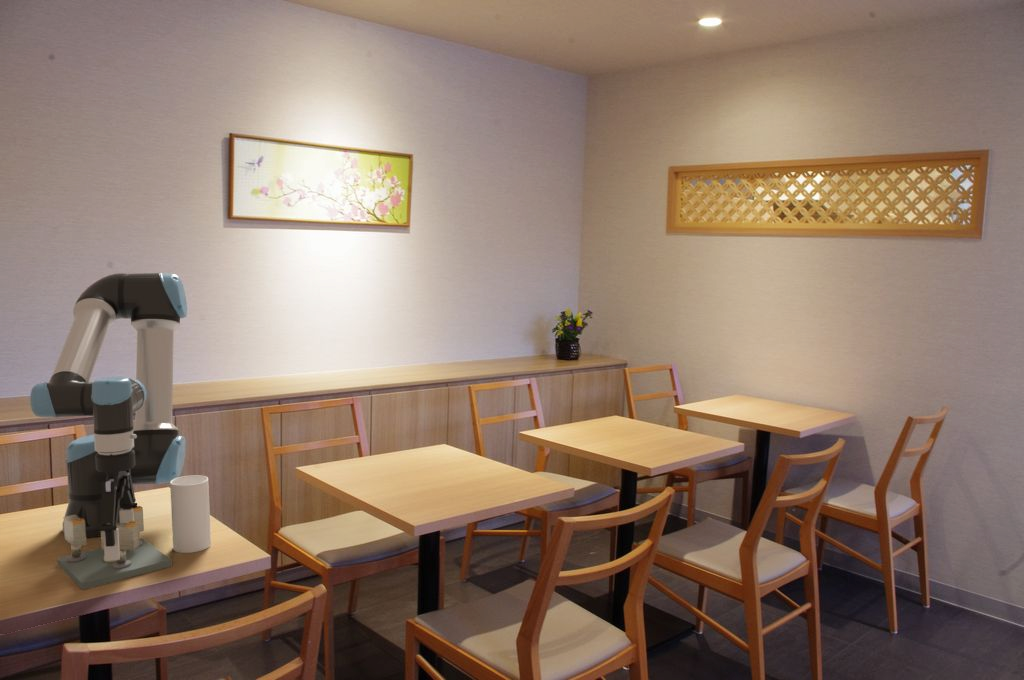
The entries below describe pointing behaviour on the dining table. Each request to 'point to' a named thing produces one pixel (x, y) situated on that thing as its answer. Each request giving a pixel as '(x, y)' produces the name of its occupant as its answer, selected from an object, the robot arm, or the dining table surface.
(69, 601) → the dining table surface
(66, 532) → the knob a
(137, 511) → the knob
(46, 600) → the dining table surface
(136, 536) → the knob
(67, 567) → the board
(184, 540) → the cup
